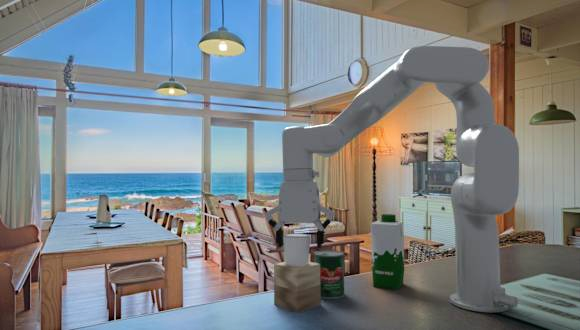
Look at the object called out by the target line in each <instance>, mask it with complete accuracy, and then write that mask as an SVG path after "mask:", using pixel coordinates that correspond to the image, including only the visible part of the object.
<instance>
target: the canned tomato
mask: <svg viewBox="0 0 580 330" xmlns="http://www.w3.org/2000/svg"><path fill="white" fill-rule="evenodd" d="M313 254H314V255H313V257H314V259H313V260H314V262H313V263H318V264H320V285H321V299H325V300H337V299H342V298H344V297H345V260H344V259H345V258H344V255H345V253H344V251H339V250H332V249H331V250H329V249H328V250H325V249H324V250H316V251H314V252H313Z"/></svg>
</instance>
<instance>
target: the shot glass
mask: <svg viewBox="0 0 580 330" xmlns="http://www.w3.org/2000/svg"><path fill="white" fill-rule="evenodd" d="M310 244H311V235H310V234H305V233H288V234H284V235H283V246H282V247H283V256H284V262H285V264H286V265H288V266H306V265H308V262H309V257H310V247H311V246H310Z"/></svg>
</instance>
